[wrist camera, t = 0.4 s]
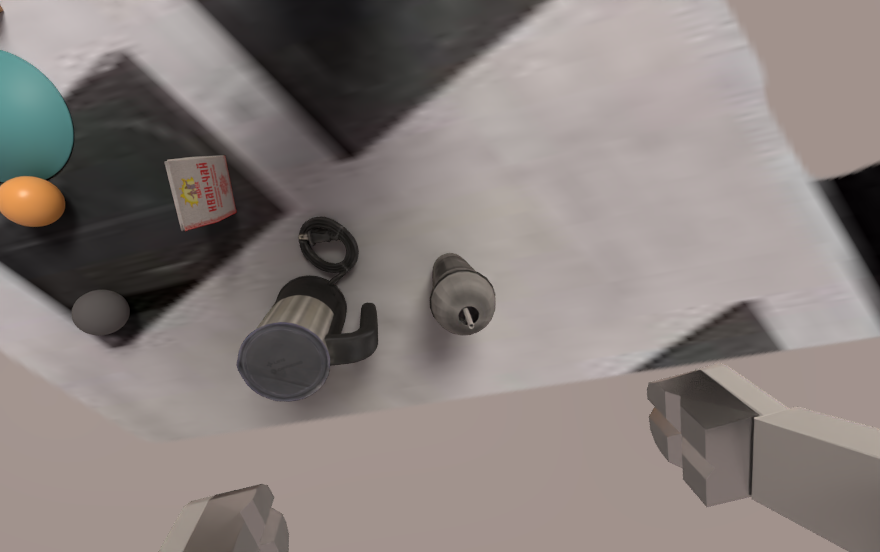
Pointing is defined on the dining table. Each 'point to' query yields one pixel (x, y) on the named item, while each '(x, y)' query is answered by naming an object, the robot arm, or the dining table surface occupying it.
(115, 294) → the gray ball
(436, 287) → the beverage cup
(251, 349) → the milk frother
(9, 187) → the orange ball
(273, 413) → the dining table surface
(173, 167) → the white carton box
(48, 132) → the teal ellipsoid
